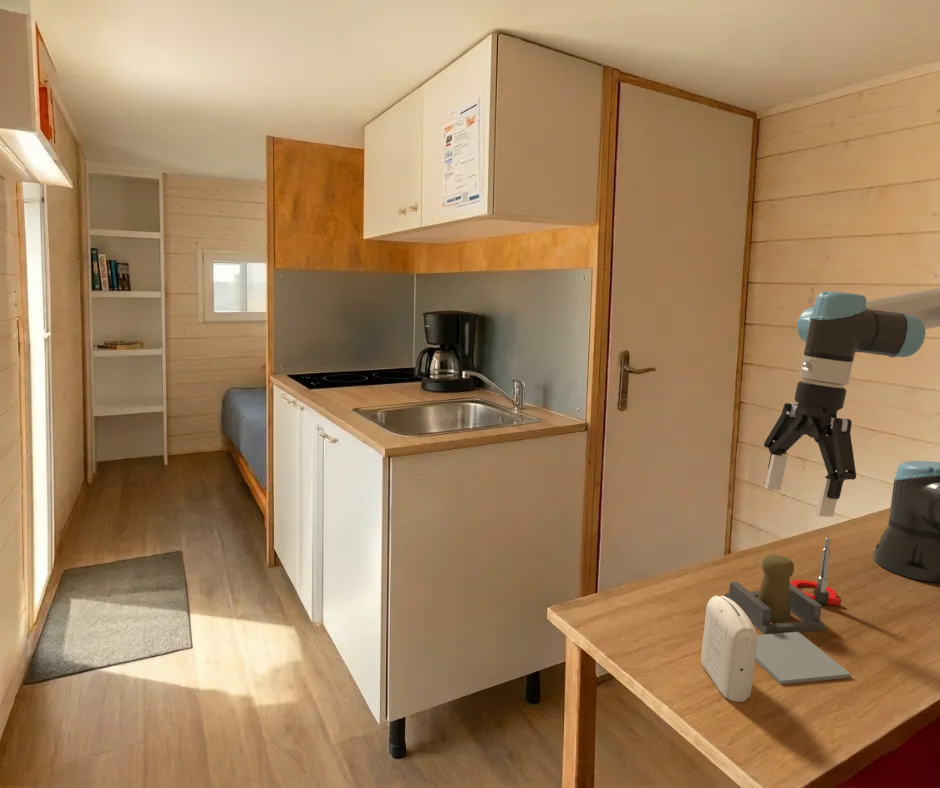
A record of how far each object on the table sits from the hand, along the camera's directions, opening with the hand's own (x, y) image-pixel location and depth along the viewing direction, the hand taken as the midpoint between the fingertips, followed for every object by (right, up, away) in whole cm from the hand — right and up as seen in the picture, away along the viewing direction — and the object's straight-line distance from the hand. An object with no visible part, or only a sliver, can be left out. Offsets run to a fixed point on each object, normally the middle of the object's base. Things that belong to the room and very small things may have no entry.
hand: (796, 501), depth 115 cm
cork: (-3, -21, +3) cm, 22 cm away
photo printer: (-19, -24, -17) cm, 35 cm away
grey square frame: (-3, -21, +3) cm, 21 cm away
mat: (-6, -23, -10) cm, 26 cm away
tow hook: (+9, -20, +12) cm, 25 cm away
